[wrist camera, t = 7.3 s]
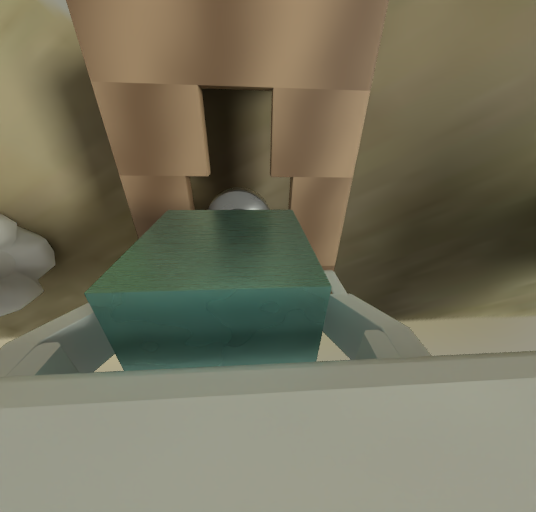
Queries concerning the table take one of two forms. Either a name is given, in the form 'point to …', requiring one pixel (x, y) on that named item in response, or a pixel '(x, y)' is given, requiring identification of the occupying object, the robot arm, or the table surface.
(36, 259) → the bottle
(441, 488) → the robot arm
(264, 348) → the teal stemmed block
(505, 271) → the table surface
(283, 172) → the tan hollow wooden block
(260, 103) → the table surface
